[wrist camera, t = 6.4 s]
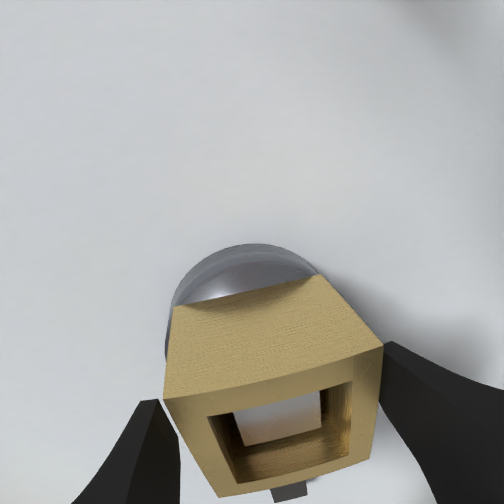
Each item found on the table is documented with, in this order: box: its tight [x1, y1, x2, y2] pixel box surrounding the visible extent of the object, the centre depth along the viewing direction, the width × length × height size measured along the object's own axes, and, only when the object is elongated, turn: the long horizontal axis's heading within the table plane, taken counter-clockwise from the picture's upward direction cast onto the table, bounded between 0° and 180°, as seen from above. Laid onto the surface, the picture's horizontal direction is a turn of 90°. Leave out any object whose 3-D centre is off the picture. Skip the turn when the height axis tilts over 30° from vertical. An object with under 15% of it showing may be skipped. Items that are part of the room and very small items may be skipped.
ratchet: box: [165, 244, 321, 503], centre depth 13 cm, size 19×7×6 cm, turn 10°
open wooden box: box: [163, 274, 384, 498], centre depth 10 cm, size 5×5×4 cm
